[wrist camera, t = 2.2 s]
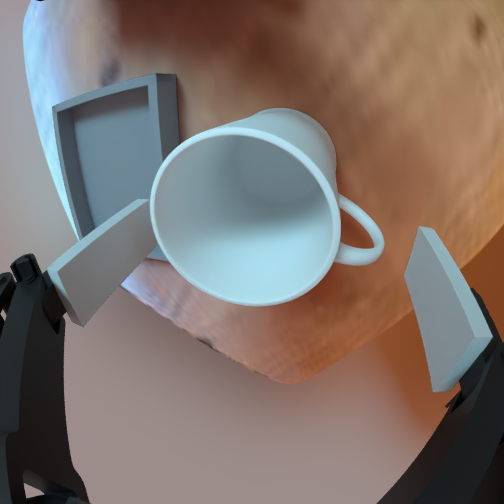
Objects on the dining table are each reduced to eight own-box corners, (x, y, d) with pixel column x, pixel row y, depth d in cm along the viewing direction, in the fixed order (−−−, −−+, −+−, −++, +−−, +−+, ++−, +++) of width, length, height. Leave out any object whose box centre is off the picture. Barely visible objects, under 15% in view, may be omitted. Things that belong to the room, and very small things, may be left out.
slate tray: (175, 74, 18) (156, 73, 16) (191, 246, 27) (178, 262, 25) (72, 101, 21) (52, 106, 19) (96, 234, 30) (81, 246, 28)
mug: (390, 165, 18) (451, 241, 9) (335, 245, 23) (333, 358, 13) (254, 89, 18) (175, 86, 8) (214, 181, 23) (132, 256, 13)
